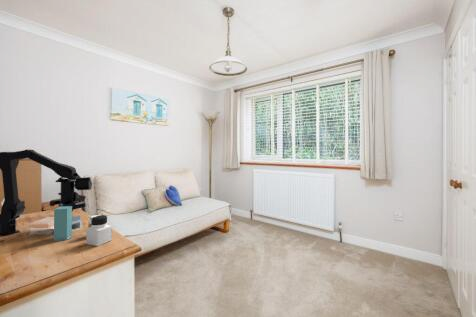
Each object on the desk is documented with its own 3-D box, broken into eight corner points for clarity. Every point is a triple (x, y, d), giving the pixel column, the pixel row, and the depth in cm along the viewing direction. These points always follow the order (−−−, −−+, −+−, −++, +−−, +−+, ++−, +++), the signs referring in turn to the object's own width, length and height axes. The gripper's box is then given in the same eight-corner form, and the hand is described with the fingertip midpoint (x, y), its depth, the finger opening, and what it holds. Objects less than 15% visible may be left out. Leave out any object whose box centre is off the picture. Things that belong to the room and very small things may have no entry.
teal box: (53, 239, 99) (54, 209, 99) (59, 235, 104) (59, 206, 104) (66, 238, 101) (67, 208, 101) (71, 234, 106) (71, 206, 105)
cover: (54, 222, 113) (55, 216, 112) (68, 219, 119) (68, 213, 119) (68, 225, 109) (68, 219, 109) (82, 221, 116) (82, 215, 116)
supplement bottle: (101, 232, 111) (101, 214, 110) (101, 236, 106) (101, 216, 106) (88, 234, 108) (88, 215, 107) (88, 238, 103) (88, 218, 103)
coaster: (49, 239, 100) (49, 238, 100) (65, 234, 107) (65, 233, 107) (60, 242, 98) (60, 241, 98) (76, 236, 105) (76, 235, 105)
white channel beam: (50, 229, 113) (50, 222, 113) (65, 225, 120) (65, 218, 120) (68, 232, 109) (68, 225, 109) (82, 228, 116) (82, 221, 116)
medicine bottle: (111, 240, 101) (112, 215, 101) (97, 246, 95) (97, 219, 94) (100, 238, 104) (100, 213, 103) (85, 244, 97) (86, 217, 97)
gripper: (95, 189, 119) (94, 218, 119) (71, 186, 125) (70, 214, 125) (74, 193, 108) (73, 224, 109) (48, 189, 114) (48, 219, 114)
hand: (67, 220), depth 114 cm, fingers closed
